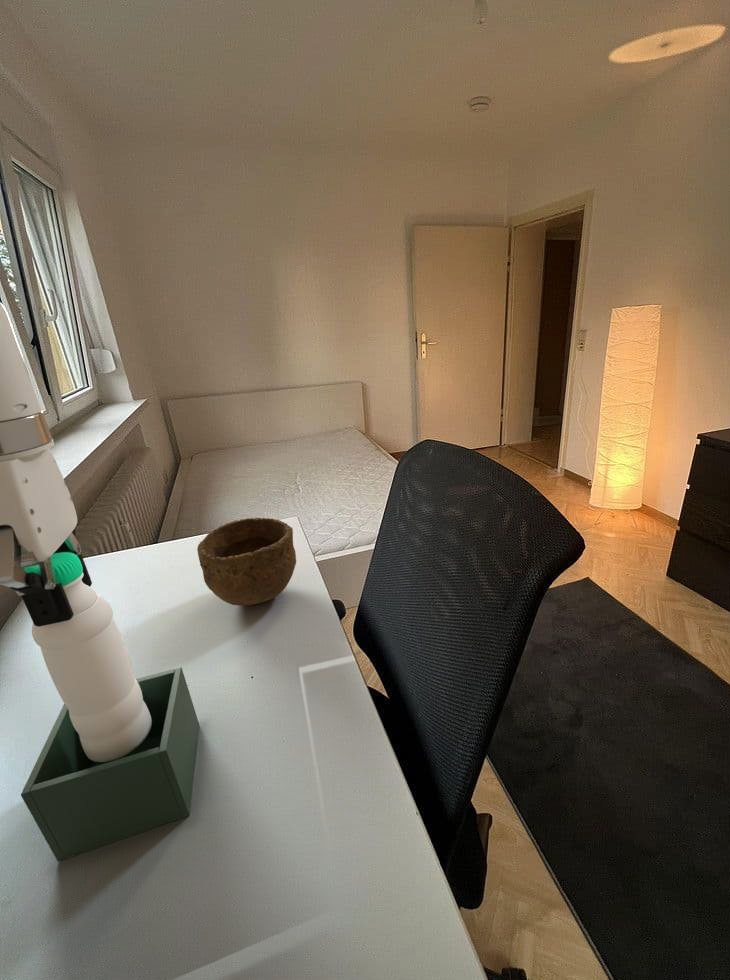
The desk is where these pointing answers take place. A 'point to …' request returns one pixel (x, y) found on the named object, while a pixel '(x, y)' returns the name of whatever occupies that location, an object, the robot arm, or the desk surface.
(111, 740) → the water bottle
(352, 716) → the desk surface
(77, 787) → the green storage bin
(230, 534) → the bowl
